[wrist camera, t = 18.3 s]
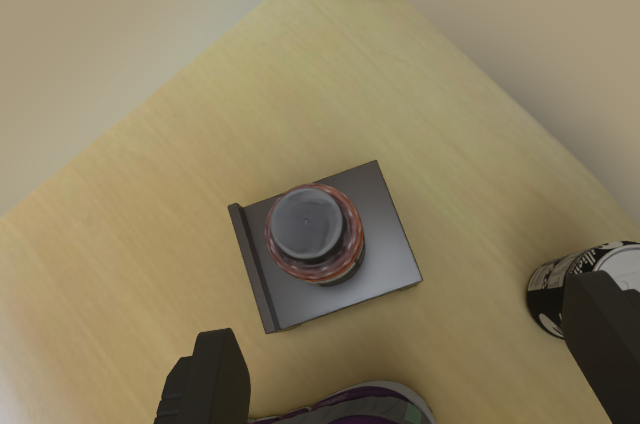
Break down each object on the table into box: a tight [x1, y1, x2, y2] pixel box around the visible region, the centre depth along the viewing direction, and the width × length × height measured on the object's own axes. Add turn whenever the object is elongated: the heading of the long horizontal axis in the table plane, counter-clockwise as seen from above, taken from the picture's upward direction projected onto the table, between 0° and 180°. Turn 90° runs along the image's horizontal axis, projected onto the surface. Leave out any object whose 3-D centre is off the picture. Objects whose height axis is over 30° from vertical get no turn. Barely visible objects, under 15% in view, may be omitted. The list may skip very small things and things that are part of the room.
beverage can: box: [527, 241, 640, 339], centre depth 34 cm, size 7×7×12 cm
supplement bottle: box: [264, 183, 366, 286], centre depth 32 cm, size 6×6×11 cm
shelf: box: [228, 160, 423, 334], centre depth 39 cm, size 12×10×8 cm
